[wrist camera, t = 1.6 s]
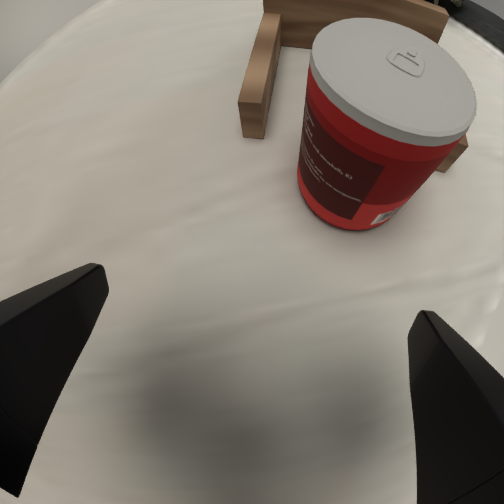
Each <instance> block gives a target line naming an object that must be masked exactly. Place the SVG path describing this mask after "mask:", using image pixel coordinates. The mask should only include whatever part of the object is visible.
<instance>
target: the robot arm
mask: <svg viewBox="0 0 504 504" xmlns="http://www.w3.org/2000/svg"><path fill="white" fill-rule="evenodd" d="M108 293H109V286H108V282H107V278H106V274H105V269H104V267H103V266H102V265H100V264H95V263H89V264H86V265H84V266H81V267H79V268H76V269H74V270H72V271H69V272H67V273H64V274H62V275H60V276H57V277H55V278H53V279H50V280H48V281H46V282H43V283H41V284H39V285H36V286H34V287H32V288H29V289H27V290H25V291H23V292H20V293H18V294H16V295H14V296H11V297H9V298H7V299H5V300H3V301H1V302H0V488H2V489H3V490H5V491H7V492H8V493H10V494H12V495H13V496H15V497H17V498H18V497H19V495H20V493H21V490H22V487H23V484H24V481H25V478H26V476H27V473H28V470H29V467H30V465H31V462H32V459H33V457H34V454H35V452H36V449H37V447H38V446H37V445H38V444H39V441H40V439H41V436H42V434H43V432H44V429H45V427H46V425H47V422H48V420H49V418H50V415H51V413H52V411H53V409H54V407H55V404H56V402H57V400H58V398H59V396H60V394H61V392H62V390H63V387H64V385H65V383H66V381H67V379H68V377H69V375H70V373H71V371H72V369H73V367H74V365H75V363H76V361H77V359H78V358H79V356H80V354H81V352H82V350H83V348H84V346H85V344H86V342H87V341H88V339H89V337H90V335H91V332H92V330H93V328H94V326H95V323H96V321H97V319H98V316H99V314H100V312H101V309H102V307H103V305H104V303H105V301H106V298H107V296H108ZM408 354H409V379H410V392H411V401H412V410H413V420H414V431H415V445H416V464H417V504H504V378H503V377H502V376H501V375H500V374H499V373H498V372H497V371H496V370H495V369H494V368H493V367H492V366H491V365H490V364H489V363H488V362H487V361H486V360H485V359H484V358H483V357H482V356H481V355H480V354H479V353H478V352H477V351H476V350H475V349H474V348H473V347H472V346H471V345H470V344H469V343H468V342H467V341H466V340H464V339H463V338H462V337H461V336H460V335H459V334H458V333H457V332H456V331H455V330H454V329H453V328H452V327H450V326H449V325H448V324H447V323H446V322H445V321H444V320H443V319H442V318H441V317H439V316H438V315H437V314H436V313H435V312H433V311H427V310H421V311H420V312H419V313H418V314H417V316H416V318H415V320H414V323H413V325H412V327H411V329H410V331H409V334H408Z"/></svg>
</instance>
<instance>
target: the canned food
mask: <svg viewBox="0 0 504 504" xmlns="http://www.w3.org/2000/svg"><path fill="white" fill-rule="evenodd" d="M476 108H477V102H476V96H475V92H474V89H473V87H472V84H471V82H470V80H469V78H468V77H467V75H466V73H465V72H464V70H463V69H462V68H461V66H460V65H459V64H458V63H457V61H456V60H455V59H454V58H453V57H452V56H451V55H450V54H449V53H448V52H446V51H445V50H444V49H443V48H442V47H440V46H439V45H438V44H436V43H435V42H434V41H432V40H430V39H429V38H427V37H426V36H424V35H422V34H420V33H418V32H416V31H414V30H412V29H410V28H408V27H405V26H402V25H400V24H397V23H393V22H389V21H385V20H381V19H373V18H351V19H344V20H340V21H337V22H334V23H332V24H330V25H328V26H326V27H325V28H323V29H322V30H321V31H320V32H319V33H318V34H317V36H316V38H315V40H314V42H313V47H312V51H311V53H310V63H309V69H308V78H307V88H306V98H305V108H304V117H303V127H302V136H301V144H300V153H299V161H298V170H297V176H298V184H299V187H300V190H301V193H302V195H303V197H304V198H305V200H306V202H307V204H308V205H309V207H310V208H311V209H312V210H313V211H314V213H315V214H316V215H318V216H319V217H320V218H321V219H323V220H324V221H326V222H327V223H329V224H331V225H333V226H336V227H339V228H342V229H348V230H363V229H369V228H373V227H376V226H379V225H381V224H383V223H384V222H386V221H388V220H389V219H390V218H391V217H392V216H393V215H394V214H395V213H396V212H397V211H398V210H399V209H400V208H401V207H402V206H403V205H404V204H405V203H406V202H407V201H408V200H409V199H410V197H411V196H412V195H413V194H414V193H415V192H416V191H417V190H418V189H419V188H420V187H421V185H422V184H423V183H424V182H425V181H426V180H427V179H428V178H429V177H430V175H431V174H432V173H433V172H434V171H435V170H436V169H437V168H438V166H439V165H440V164H441V163H442V162H443V161H444V159H445V158H446V157H447V156H448V155H449V154H450V152H451V151H452V150H453V149H454V148H455V147H456V145H457V144H458V142H459V141H460V140H461V139H462V137H463V136H464V135H465V134H466V132H467V131H468V129H469V127H470V125H471V124H472V122H473V120H474V117H475V115H476Z"/></svg>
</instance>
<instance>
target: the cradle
mask: <svg viewBox="0 0 504 504" xmlns="http://www.w3.org/2000/svg"><path fill="white" fill-rule="evenodd" d="M263 7H264V14H263V17H262V20H261V23H260V27H259V30H258V33H257V36H256V40H255V43H254V46H253V50H252V53H251V56H250V60H249V63H248V67H247V70H246V74H245V77H244V81H243V84H242V88H241V91H240V95H239V99H238V107H239V113H240V119H241V126H242V132H243V137H248V138H259V139H263V138H264V133H265V128H266V122H267V117H268V112H269V106H270V101H271V96H272V90H273V85H274V80H275V74H276V69H277V64H278V59H279V54H280V48H281V46H290V47H299V48H308V49H312V47H313V42H314V40H315V38H316V36H317V34H318V33H319V32H320V31H321V30H322V29H323V28H325V27H326V26H328V25H330V24H332V23H334V22H337V21H340V20H344V19H351V18H373V19H381V20H385V21H389V22H393V23H397V24H400V25H402V26H405V27H408V28H410V29H412V30H414V31H416V32H418V33H420V34H422V35H424V36H426V37H427V38H429V39H430V40H432V41H434V42H435V43H436V44H438V42H439V39H440V37H441V35H442V33H443V30H444V28H445V26H446V23H447V21H448V18H449V14H448V13H447V11H446V9H445V8H443V7H440V6H437V5H435V4H432V3H429V2H426V1H424V0H263ZM467 147H468V142H467V138H466V134H465V135H464V136H463V137H462V139H461V140H460V141H459V142H458V144H457V145H456V147H455V148H454V149H453V150H452V151H451V152H450V154H449V155H448V156H447V157H446V158H445V159H444V161H443V162H442V163H441V164H440V165H439V166H438V168H437V169H436V170H437V171H441V172H444V173H445V172H446V171H447V170H448V169H449V167H450V166H451V165H452V164H453V163H454V162H455V161H456V160H457V159H458V157H459V156H460V155H461V154H462V153H463V152H464V151H465V150H466V148H467Z"/></svg>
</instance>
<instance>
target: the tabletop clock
mask: <svg viewBox="0 0 504 504" xmlns="http://www.w3.org/2000/svg"><path fill="white" fill-rule="evenodd" d="M451 1H452V2H453V4H454V5H455V6H456V7H460V6H461V5H462V3H461V1H464V0H451ZM434 4H435V5H437V6H438V0H434Z"/></svg>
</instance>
